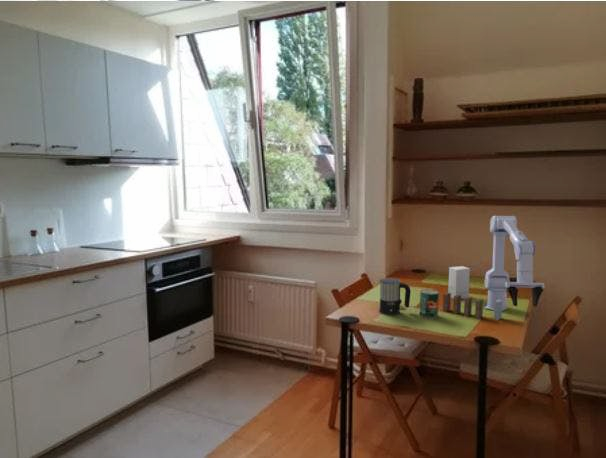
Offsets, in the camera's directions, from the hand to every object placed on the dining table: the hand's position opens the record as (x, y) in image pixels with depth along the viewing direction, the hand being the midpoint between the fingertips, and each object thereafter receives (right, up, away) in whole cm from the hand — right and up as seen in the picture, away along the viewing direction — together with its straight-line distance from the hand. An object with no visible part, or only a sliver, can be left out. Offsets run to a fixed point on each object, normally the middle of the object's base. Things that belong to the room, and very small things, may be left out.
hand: (524, 306), depth 179 cm
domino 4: (-11, -8, +19) cm, 23 cm away
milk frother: (-47, -7, +30) cm, 56 cm away
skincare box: (-9, -5, +51) cm, 52 cm away
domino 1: (-22, -7, +29) cm, 37 cm away
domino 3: (-15, -8, +22) cm, 28 cm away
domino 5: (-3, -9, +17) cm, 20 cm away
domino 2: (-18, -7, +26) cm, 32 cm away
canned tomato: (-32, -8, +21) cm, 39 cm away
